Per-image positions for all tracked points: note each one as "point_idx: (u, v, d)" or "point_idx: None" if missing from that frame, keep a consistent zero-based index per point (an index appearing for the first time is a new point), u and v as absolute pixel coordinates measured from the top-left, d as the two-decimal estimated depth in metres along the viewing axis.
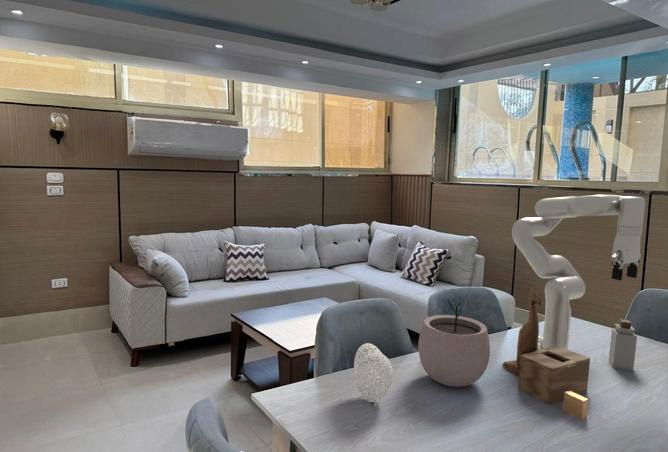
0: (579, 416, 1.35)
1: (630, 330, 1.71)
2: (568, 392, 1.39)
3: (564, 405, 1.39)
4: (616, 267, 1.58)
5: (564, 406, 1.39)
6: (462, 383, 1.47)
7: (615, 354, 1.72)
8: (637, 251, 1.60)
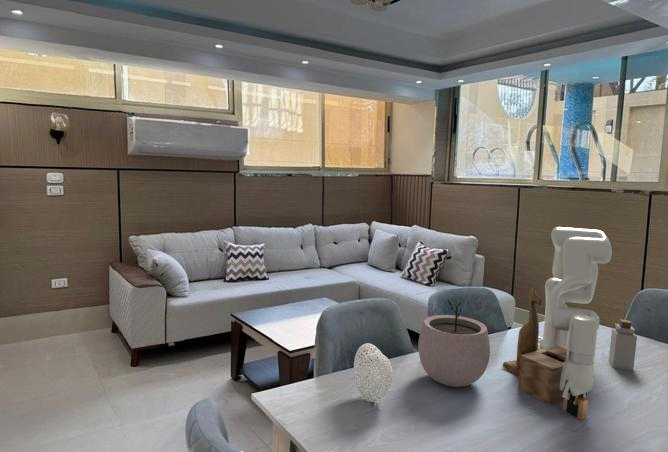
0: (579, 416, 1.35)
1: (630, 330, 1.71)
2: None
3: (564, 405, 1.39)
4: None
5: (565, 406, 1.39)
6: (462, 383, 1.47)
7: (615, 354, 1.72)
8: (589, 380, 1.35)
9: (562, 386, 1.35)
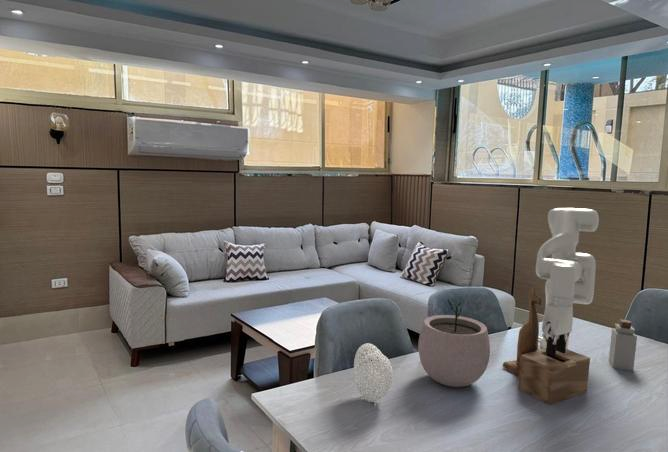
0: None
1: (630, 330, 1.71)
2: None
3: None
4: (550, 343, 1.48)
5: None
6: (462, 383, 1.47)
7: (615, 354, 1.72)
8: (569, 322, 1.49)
9: (544, 327, 1.49)
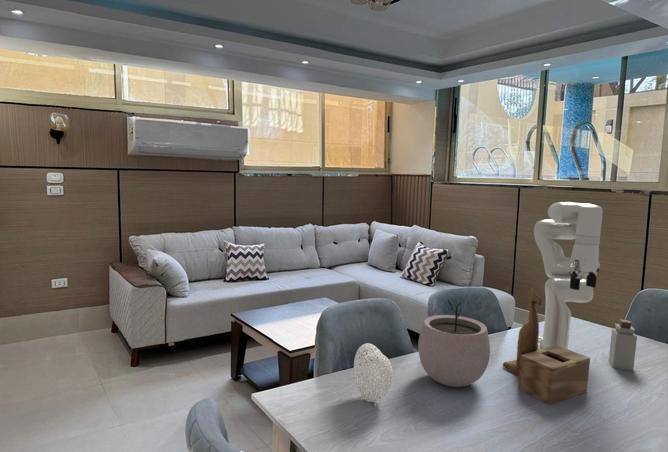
0: None
1: (630, 330, 1.71)
2: None
3: None
4: (573, 277, 1.56)
5: None
6: (462, 383, 1.47)
7: (615, 354, 1.72)
8: (595, 260, 1.58)
9: None
